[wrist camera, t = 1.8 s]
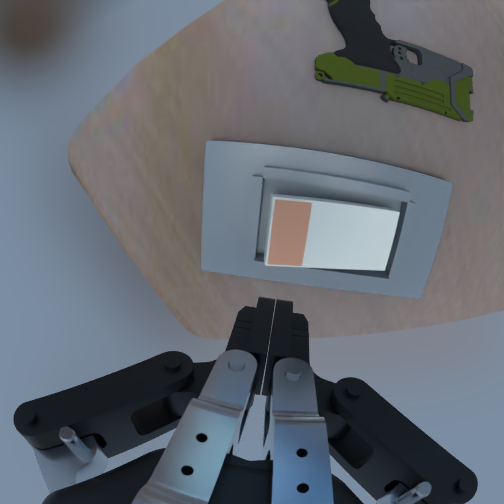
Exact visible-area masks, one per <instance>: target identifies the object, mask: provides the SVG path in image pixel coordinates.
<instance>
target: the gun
mask: <svg viewBox="0 0 504 504" xmlns="http://www.w3.org/2000/svg"><path fill="white" fill-rule="evenodd" d="M327 1H328V3H329V5H328V8H329V10H330V13H331V16H332V18H333V20H334V22H335V23H336V25H337V27H338V28H339V29H340V31H341V32H342V34H343V36H344V37H345V39H346V44H347V46H346V48H344V49H342V50H338V51H336V52H334V53H325V54H322V55H319V56H318V57H316V60H315V70H316V71H317V72H316V74H315V78H316V79H317V80H319V81H322V82H323V83H328V84H335V85H341V86H347V87H352V88H358V89H363V90H368V91H372V92H377V93H383V94H385V95H382V96H381V99H382V100H383V101H384V102H388V101H389V99H391V100H394V101H398V102H402V103H405V104H409V105H413V106H416V107H419V108H423V109H426V110H429V111H432V112H435V113H438V114H441V115H444V116H447V117H450V118H453V119H455V120H459V121H460V120H461V121H463V122H470V121H473V111H472V110H470V97H469V94H472V93H473V86H472V77H473V70H472V68H471V67H469V66H467V65H465V64H463V63H462V64H461V63H459V62H457V61H455V60H452V59H450V58H448V57H445V56H443V55H440V54H438V53H435V52H433V51H430V50H428V49H425V48H422V47H419V46H417V45H413V44H410V43H407V42H404V41H401V40H398V41H397V40H390V39H388V38H386V37H385V36H384V34H383V33H382V31H381V26H380V25H379V24H378V22H377V21H376V20H375V15H374V14H373V12H372V11H371V9H370V0H327ZM391 44H392V45H394V46H395V47H394V48H393V50H392V55H391V52H390V45H391ZM407 50H410V51H413V52H415V53H416V54H417V56H418V65H416V64H413V63H410V62H409V60H408V59H407V56H406V52H407ZM400 58H401V59H400ZM318 74H321V75H322V77H321V78H320V77H318ZM325 75H326V76H327V77H328V78H329V79H324V78H325Z"/></svg>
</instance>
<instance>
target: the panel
mask: <svg viewBox="0 0 504 504" xmlns="http://www.w3.org/2000/svg"><path fill="white" fill-rule="evenodd" d="M452 187H453V183H451V182H449V181H446V180H442V179H439V178H436V177H433V176H429V175H426V174H422V173H419V172H415V171H411V170H407V169H404V168H400V167H396V166H392V165H387V164H383V163H379V162H374V161H370V160H365V159H360V158H355V157H350V156H345V155H339V154H333V153H327V152H321V151H315V150H308V149H301V148H293V147H285V146H277V145H267V144H257V143H244V142H230V141H206V149H205V165H204V184H203V207H202V243H201V270H204V271H211V272H217V273H223V274H230V275H236V276H243V277H250V278H256V279H263V280H270V281H277V282H284V283H292V284H299V285H306V286H314V287H321V288H329V289H337V290H345V291H353V292H362V293H370V294H379V295H388V296H397V297H406V298H416V299H420V298H421V295H422V293H423V290H424V288H425V285H426V282H427V279H428V276H429V274H430V271H431V268H432V265H433V262H434V259H435V255H436V252H437V249H438V245H439V242H440V238H441V235H442V231H443V227H444V223H445V219H446V215H447V211H448V206H449V202H450V197H451V192H452ZM271 194H280V195H291V196H301V197H311V198H320V199H328V200H337V201H345V202H352V203H360V204H367V205H374V206H380V207H387V208H393V209H395V210H397V211H399V212H400V214H399V218H398V223H397V227H396V231H395V235H394V239H393V243H392V247H391V251H390V254H389V258H388V262H387V265H386V268H385V271H381V270H353V269H328V268H305V267H284V266H265V263H264V252H265V243H266V234H267V225H268V216H269V207H270V198H271Z"/></svg>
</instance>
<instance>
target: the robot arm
mask: <svg viewBox="0 0 504 504" xmlns="http://www.w3.org/2000/svg"><path fill="white" fill-rule="evenodd" d="M274 305H275V299H271V298H264V297H259V299H258V303H257V307H256V308H255V307H248V306H245V307H244V308H243V309H241V310H240V311H239V312H238V315H237V318H236V321H235V324H234V328H233V330H232V333H231V336H230V339H229V342H228V345H227V348H226V351H225V352H224V353H222V354H221V355H220V356H219V357H218V358H217V360H214V361H211V362H201V363H193V361H192V359H191V358H190V357H189V356H188V355H186V354H184V353H182V352H178V351H169V352H165V353H162V354H160V355H157V356H155V357H152V358H150V359H147V360H145V361H142V362H140V363H137V364H135V365H133V366H130V367H127V368H125V369H122V370H119V371H117V372H114V373H111V374H109V375H106V376H104V377H101V378H98V379H95V380H92V381H89V382H87V383H84V384H81V385H78V386H75V387H72V388H69V389H66V390H63V391H61V392H58V393H54V394H51V395H48V396H45V397H42V398H38V399H35V400H32V401H28V402H25V403H23V404H21V405H20V406H19V407H18V408H17V410H16V411H15V414H14V425H15V427H16V429H17V430H18V431H19V432H20V434H21V435H22V436H23V437H24V438H25V439H26V440H27V441H28V443H29V444H30V445H31V446H32V447H33V450H34V452H35V456H36V459H37V461H38V464H39V467H40V470H41V472H42V475H43V478H44V480H45V482H46V485H47V487H48V490H49V492H50V494H49V495H48V496H47V497H46V498H45V500H44V501H43V503H42V504H363V503H362V501H360V499H359V498H358V497H357V496H356V495H355V494H354V493H353V492H352V491H351V490H350V489H349V488H348V487H347V486H346V484H345V483H344V482H343V481H341V480H340V479H339V478H337V477H336V476H334V475H333V474H331V467H330V455H331V456H332V457H333V458H334V459H335V460H336V461H337V462H338V463H339V464H340V465H341V466H342V467H343V468H344V469H345V470H346V471H347V472H348V473H349V474H350V475H351V476H352V477H353V478H354V479H355V480H356V481H357V482H358V483H359V484H360V485H361V486H362V487H363V488H364V489H365V490H366V491H367V492H368V493H369V494H370V495H371V496H372V497H373V498H374V499H375V500H377V502H376V504H465V503H466V502H468V501H469V500H470V499H472V498H473V496H474V495H475V493H476V490H477V486H478V481H477V478H476V476H475V474H474V472H472V471H471V470H470V469H469V468H467V467H466V466H465V465H464V464H462V463H461V462H460V461H459V460H457V459H456V458H455V457H454V456H452V455H451V454H450V453H448V452H447V451H446V450H445V449H444V448H443V447H441V446H440V445H439V444H438V443H436V442H435V441H434V440H433V439H432V438H430V437H429V436H428V435H427V434H425V433H424V432H423V431H422V430H421V429H419V428H418V427H417V426H416V425H415V424H413V423H412V422H411V421H410V420H409V419H408V418H406V417H405V416H404V415H403V414H402V413H400V412H399V411H398V410H397V409H396V408H394V407H393V406H392V405H391V404H390V403H389V402H387V401H386V400H385V399H384V398H383V397H381V396H380V395H379V394H378V393H377V392H376V391H374V390H373V389H372V388H371V387H370V386H369V385H368V384H367V383H365V382H364V381H362V380H360V379H357V378H352V377H351V378H350V377H349V378H343V379H341V380H339V381H338V382H337V383H333V382H330V381H327V380H325V379H322V378H320V377H319V376H317V375H316V374H315V373H314V372H313V370H312V368H311V366H310V363H309V332H308V321H307V319H306V318H305V316H304V315H303V314H298V313H293V301H285V300H278V299H277V301H276V307H275V313H274V319H273V312H274ZM272 319H273V325H272ZM271 326H272V331H271ZM270 332H271V338H270ZM269 339H270V344H269ZM268 345H269V351H268ZM267 352H268V358H267ZM266 358H267V364H266V371H265V377H264V383H263V389H262V395H265V396H267V398H266V405H265V409H264V417H263V434H262V449H261V457H260V460H259V461H248V460H245V459H242V458H240V457H237V456H236V455H237V451H238V447H239V444H240V441H241V438H242V435H243V431H244V428H245V425H246V422H247V419H248V415H249V412H250V408H251V406H252V404H253V401H254V396H255V394H258V395H260V391H261V385H262V380H263V375H264V369H265V363H266ZM176 427H177V428H176ZM174 428H176V430H175V432H174V433H173V435H172V437H171V439H170V441H169V443H168V445H167V447H166V448H162V449H158V450H155V451H152V452H149V453H147V454H145V455H143V456H141V457H139V458H137V459H135V460H132V461H130V462H128V463H126V464H124V465H122V466H120V467H117V468H115V469H113V470H110V471H108V472H106V473H103V474H101V473H102V472H103V471H104V470H105V468H106V467H107V462H108V461H107V458H110V457H112V456H115V455H117V454H120V453H122V452H125V451H127V450H130V449H132V448H134V447H136V446H138V445H141V444H143V443H145V442H148V441H150V440H152V439H154V438H156V437H158V436H160V435H162V434H164V433H167V432H168V431H170V430H173V429H174ZM329 454H330V455H329ZM99 474H101V475H99ZM97 475H98V476H97ZM95 476H96V477H95Z"/></svg>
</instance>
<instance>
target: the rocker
mask: <svg viewBox="0 0 504 504" xmlns="http://www.w3.org/2000/svg"><path fill="white" fill-rule="evenodd" d="M399 214H400V212H399V211H397V210H395V209H393V208H387V207H380V206H374V205H367V204H360V203H352V202H345V201H337V200H328V199H320V198H311V197H301V196H291V195H280V194H271V198H270V207H269V216H268V225H267V234H266V243H265V252H264V263H265V266H284V267H305V268H328V269H353V270H381V271H385V268H386V265H387V262H388V258H389V254H390V251H391V247H392V243H393V239H394V235H395V231H396V227H397V223H398V218H399Z"/></svg>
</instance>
